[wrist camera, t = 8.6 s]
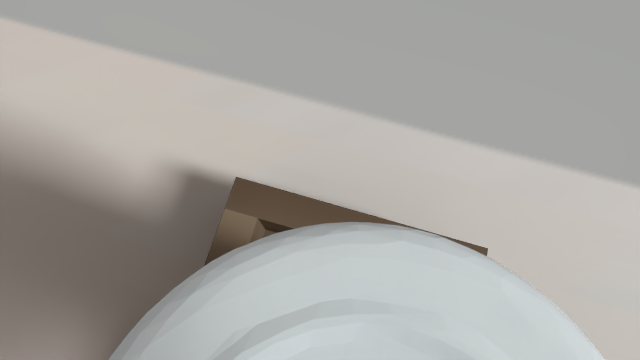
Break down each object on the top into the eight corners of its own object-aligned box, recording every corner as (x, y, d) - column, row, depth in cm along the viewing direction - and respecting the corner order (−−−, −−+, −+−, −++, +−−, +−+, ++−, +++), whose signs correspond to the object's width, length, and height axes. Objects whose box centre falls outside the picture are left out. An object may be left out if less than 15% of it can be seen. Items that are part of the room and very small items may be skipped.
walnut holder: (409, 506, 15) (434, 558, 12) (169, 428, 16) (134, 459, 13) (457, 256, 18) (487, 248, 15) (248, 197, 18) (236, 177, 15)
